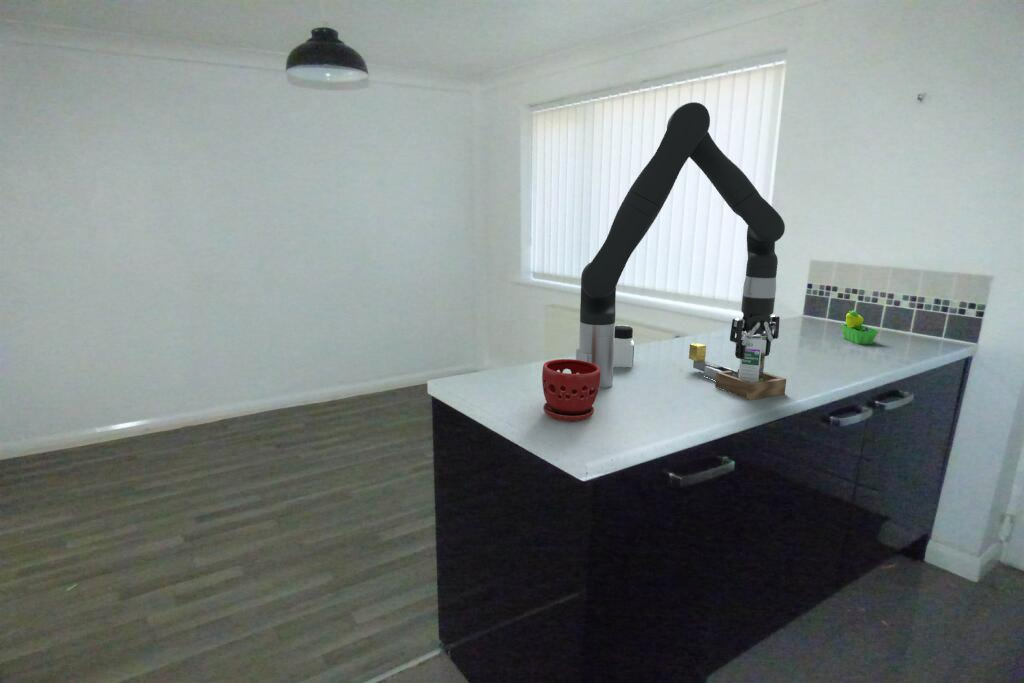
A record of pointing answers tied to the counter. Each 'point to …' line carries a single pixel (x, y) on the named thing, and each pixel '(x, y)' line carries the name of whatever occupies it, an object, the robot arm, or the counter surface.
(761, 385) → the wooden tray
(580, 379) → the plant pot
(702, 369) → the lock pin
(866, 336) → the fruit basket
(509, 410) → the counter surface
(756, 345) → the syrup box
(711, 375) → the pin guide
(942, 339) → the counter surface
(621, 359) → the medicine bottle
